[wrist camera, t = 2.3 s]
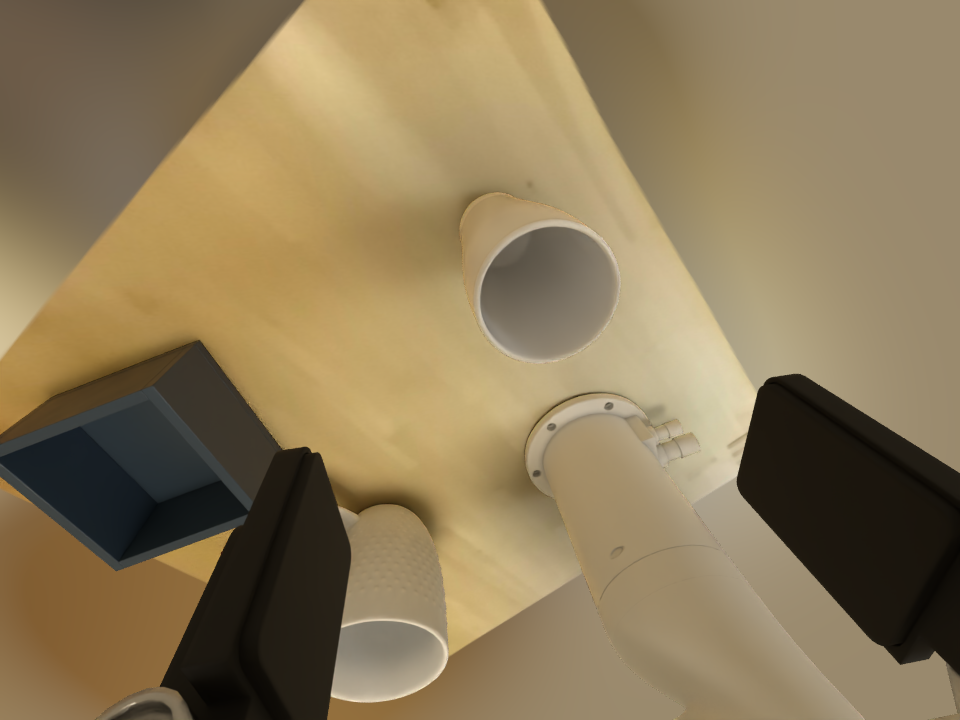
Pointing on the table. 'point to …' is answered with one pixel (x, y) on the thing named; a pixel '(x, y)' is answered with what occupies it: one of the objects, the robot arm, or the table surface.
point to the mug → (390, 608)
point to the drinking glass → (536, 278)
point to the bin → (142, 457)
